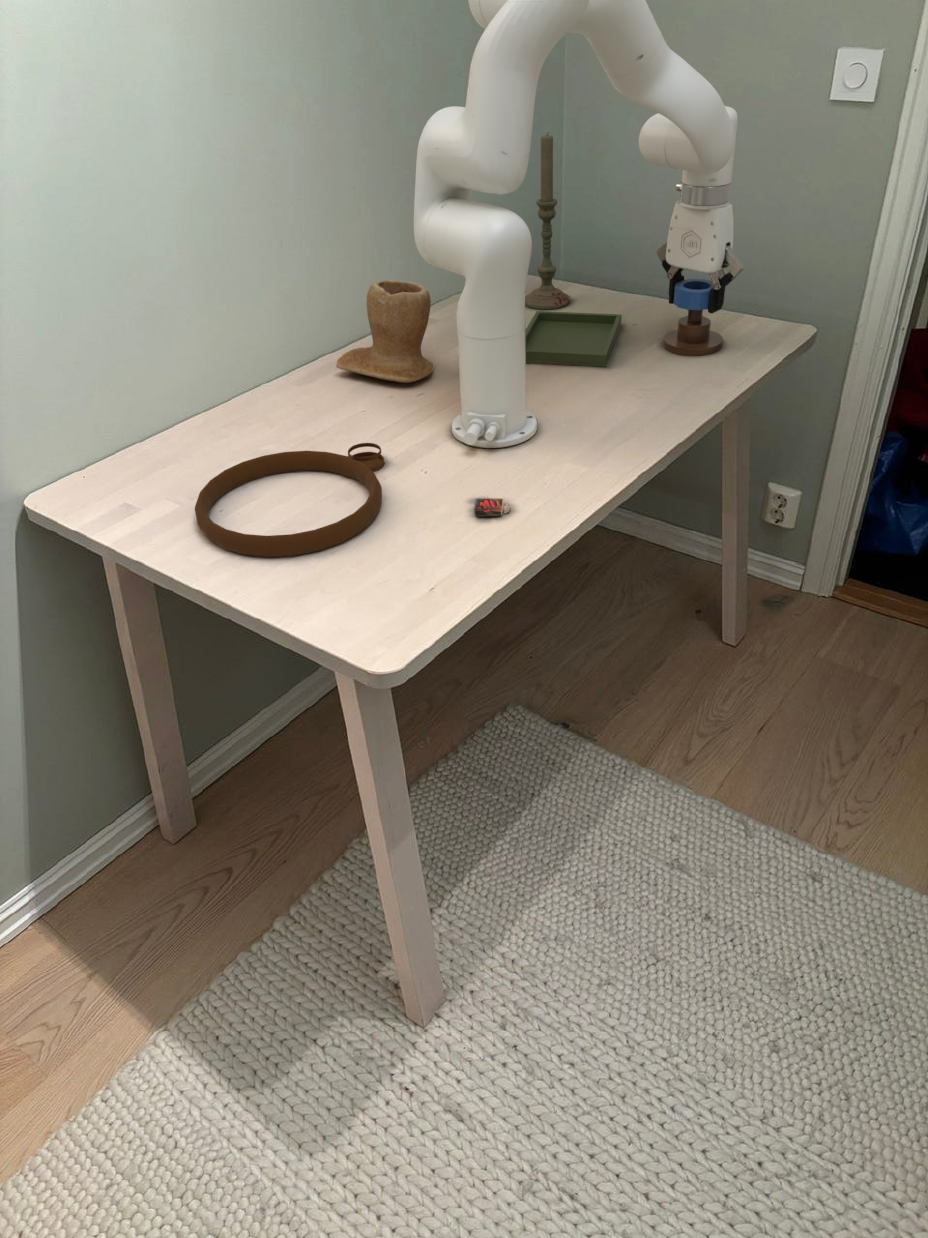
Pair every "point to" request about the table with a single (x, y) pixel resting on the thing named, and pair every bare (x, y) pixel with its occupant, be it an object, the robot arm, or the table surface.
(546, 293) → the candlestick holder
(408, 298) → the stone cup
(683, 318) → the stand
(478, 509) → the matchbox
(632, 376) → the table surface
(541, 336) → the tray
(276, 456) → the decorative ring
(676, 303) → the ring
